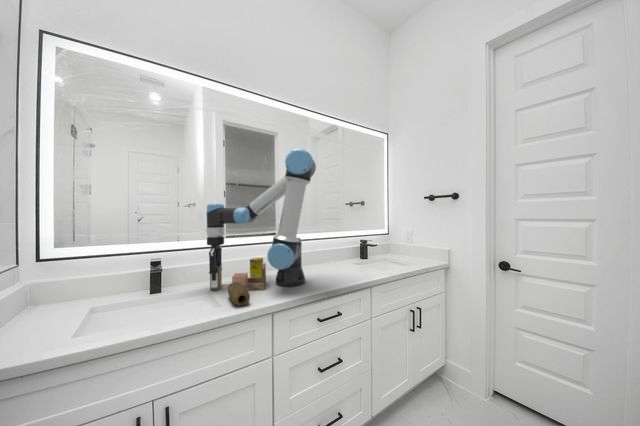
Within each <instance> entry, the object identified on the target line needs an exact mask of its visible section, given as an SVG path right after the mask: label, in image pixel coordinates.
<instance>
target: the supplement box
mask: <svg viewBox="0 0 640 426" xmlns="http://www.w3.org/2000/svg"><path fill="white" fill-rule="evenodd" d="M263 264H264V257H253V258H250V259H249V278H257V277H262V267H263Z"/></svg>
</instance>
